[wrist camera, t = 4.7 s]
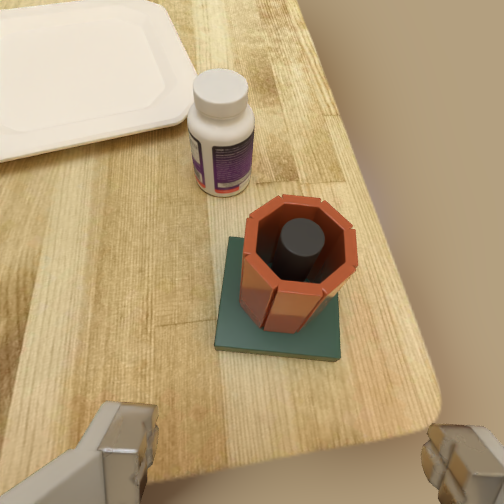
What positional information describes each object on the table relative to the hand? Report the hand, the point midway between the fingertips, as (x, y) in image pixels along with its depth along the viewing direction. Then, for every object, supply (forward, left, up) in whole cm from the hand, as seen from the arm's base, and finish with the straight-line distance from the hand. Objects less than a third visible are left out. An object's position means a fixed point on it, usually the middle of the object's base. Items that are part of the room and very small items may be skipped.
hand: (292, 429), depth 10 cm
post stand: (+9, -1, -14) cm, 16 cm away
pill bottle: (+21, +5, -14) cm, 26 cm away
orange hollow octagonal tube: (+9, -1, -12) cm, 15 cm away
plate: (+33, +23, -14) cm, 43 cm away
